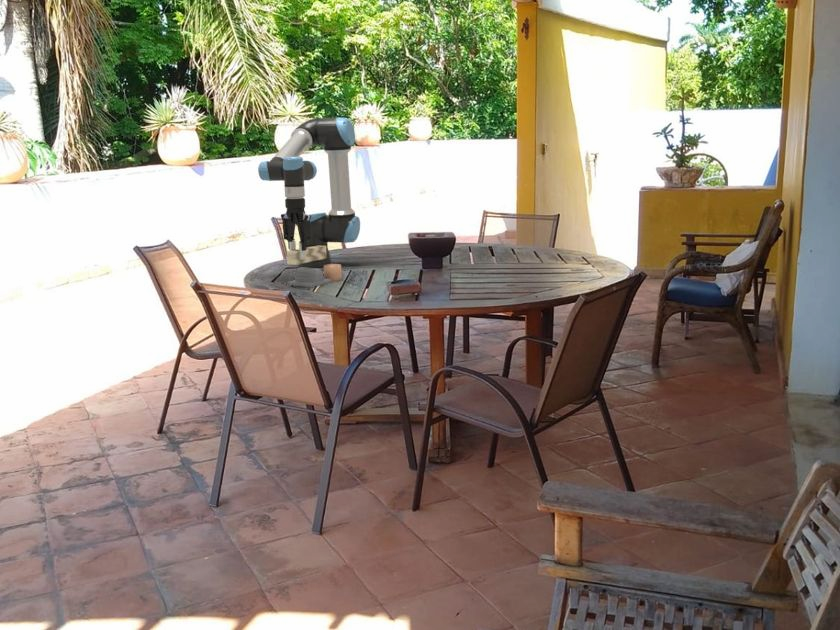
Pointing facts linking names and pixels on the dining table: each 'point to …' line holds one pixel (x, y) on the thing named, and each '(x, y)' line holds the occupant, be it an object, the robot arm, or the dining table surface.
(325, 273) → the orange-brown rounded piece
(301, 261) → the bar
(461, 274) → the dining table surface
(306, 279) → the fulcrum
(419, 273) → the dining table surface
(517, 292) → the dining table surface
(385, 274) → the dining table surface
